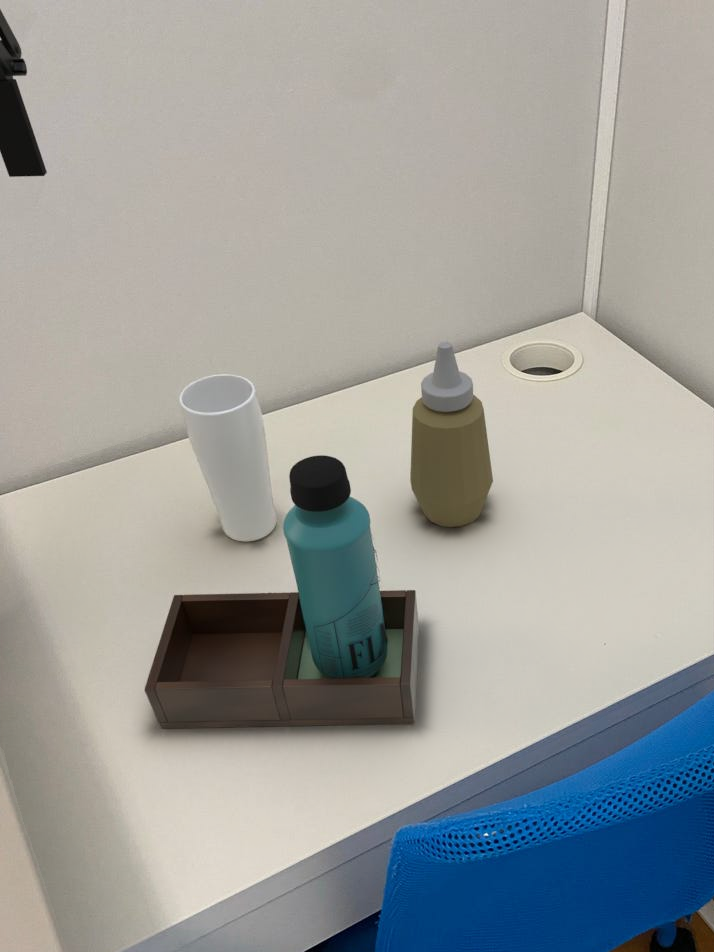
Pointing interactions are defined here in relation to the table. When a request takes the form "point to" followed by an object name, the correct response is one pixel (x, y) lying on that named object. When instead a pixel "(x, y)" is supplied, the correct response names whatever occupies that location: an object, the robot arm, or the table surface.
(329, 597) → the beverage bottle
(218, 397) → the drinking glass
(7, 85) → the robot arm
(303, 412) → the table surface
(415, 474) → the squeeze bottle
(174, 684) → the divided box
